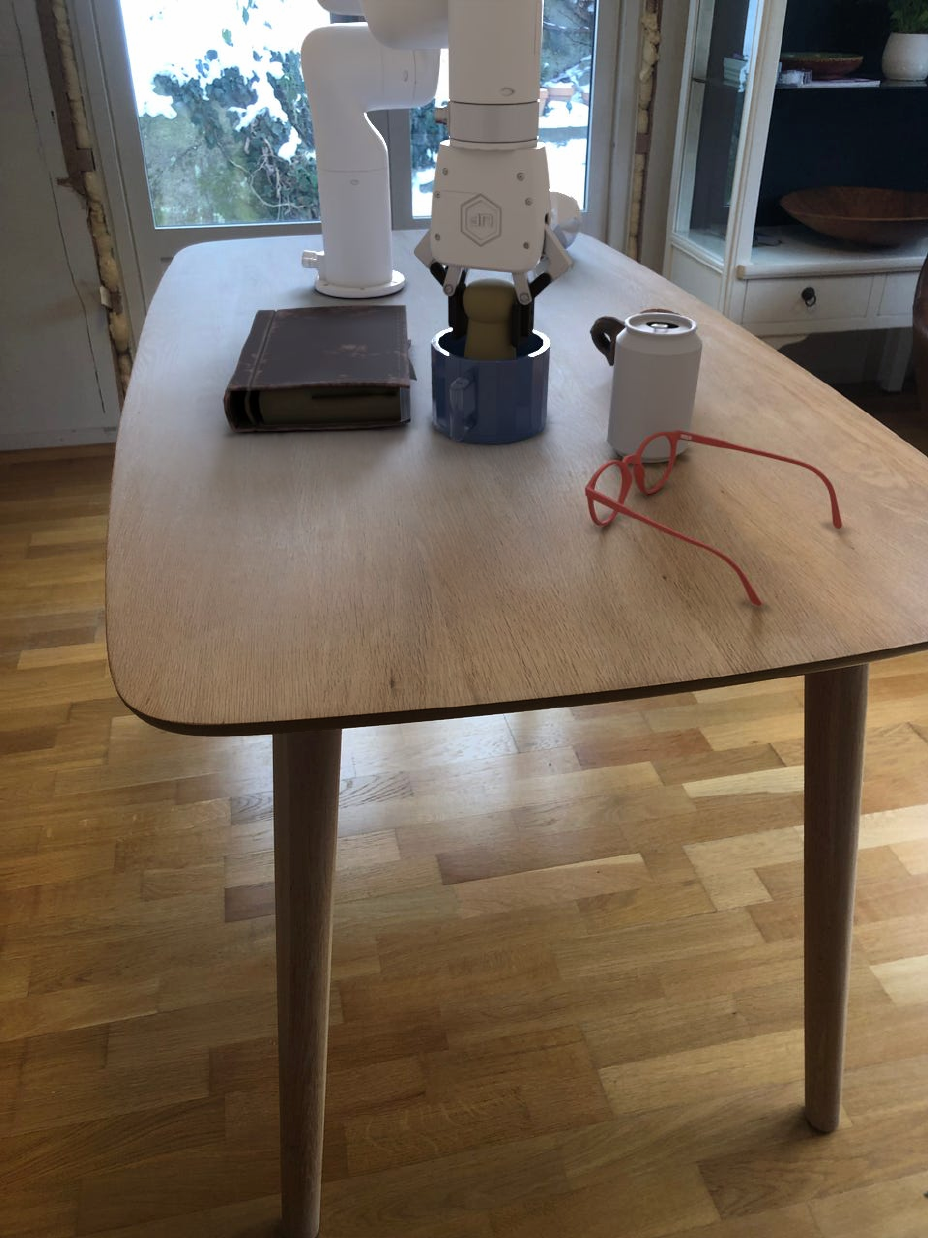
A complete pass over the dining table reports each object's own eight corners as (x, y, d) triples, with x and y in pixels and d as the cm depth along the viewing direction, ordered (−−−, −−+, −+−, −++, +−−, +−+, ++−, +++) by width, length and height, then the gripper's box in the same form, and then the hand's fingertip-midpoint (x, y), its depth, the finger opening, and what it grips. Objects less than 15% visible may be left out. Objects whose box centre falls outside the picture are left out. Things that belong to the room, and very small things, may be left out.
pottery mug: (692, 367, 109) (715, 316, 101) (668, 429, 105) (690, 380, 97) (593, 331, 110) (609, 277, 102) (566, 390, 106) (580, 339, 98)
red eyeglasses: (672, 468, 86) (679, 416, 83) (847, 523, 77) (862, 466, 74) (561, 542, 75) (565, 484, 72) (752, 615, 66) (764, 553, 63)
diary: (226, 435, 92) (218, 384, 89) (256, 350, 112) (250, 307, 110) (419, 429, 93) (418, 379, 90) (414, 346, 113) (412, 303, 111)
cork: (521, 385, 96) (525, 272, 89) (518, 408, 91) (522, 290, 84) (461, 383, 96) (461, 271, 90) (455, 406, 91) (454, 289, 85)
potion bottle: (548, 270, 148) (530, 258, 161) (600, 229, 146) (577, 220, 159) (514, 218, 144) (498, 210, 157) (567, 175, 142) (546, 171, 155)
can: (692, 439, 91) (710, 312, 84) (680, 471, 85) (699, 338, 78) (614, 429, 93) (626, 304, 86) (598, 460, 87) (609, 329, 80)
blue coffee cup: (458, 394, 101) (457, 318, 96) (560, 409, 97) (564, 330, 93) (399, 448, 89) (395, 364, 85) (512, 467, 86) (515, 381, 81)
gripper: (382, 125, 80) (391, 340, 90) (580, 136, 74) (566, 363, 85) (418, 114, 85) (423, 318, 96) (604, 124, 80) (588, 338, 90)
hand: (490, 337), depth 90 cm, fingers closed on cork, 5 cm apart
